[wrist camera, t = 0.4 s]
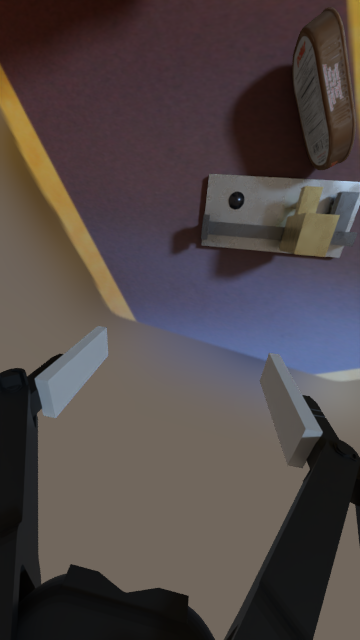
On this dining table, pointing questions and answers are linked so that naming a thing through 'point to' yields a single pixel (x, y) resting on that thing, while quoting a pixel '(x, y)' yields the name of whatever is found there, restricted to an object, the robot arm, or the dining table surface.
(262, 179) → the bolt plate
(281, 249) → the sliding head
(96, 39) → the dining table surface
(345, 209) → the grey slide rail base
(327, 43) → the tin
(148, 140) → the dining table surface
